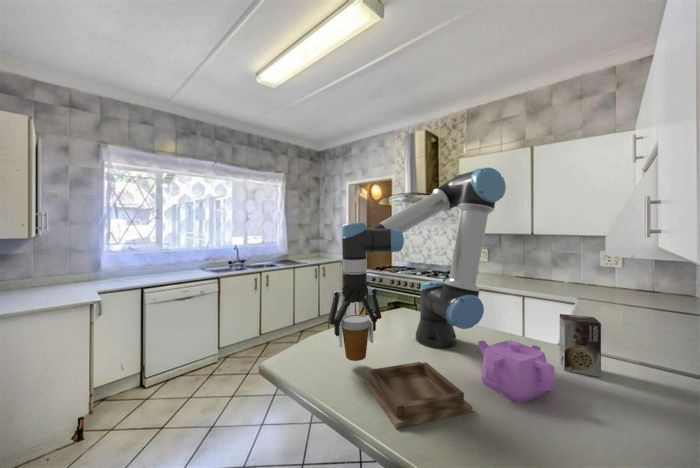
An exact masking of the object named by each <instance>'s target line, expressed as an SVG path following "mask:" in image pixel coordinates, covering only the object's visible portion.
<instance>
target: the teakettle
mask: <svg viewBox="0 0 700 468" xmlns="http://www.w3.org/2000/svg"><path fill="white" fill-rule="evenodd" d="M477 344H478V346H479V349H480V350H481V353H482V356H483V359H482V363H481V372H480V373H481V374H480V378H481V381H482V384H483V385H484V386H486V387H487V388H489V389H490V390H493V391H494V392H495V393H498V394H499V395H501V396H502V397H504V398H507V399H509V400H510V401H513V402H514V403H517V404H523V403H527V402H531V401H533V400H536V399H539V398H540V397H542V396H543V395H544V394H546V393H547V392H548V391H549V392H550V391H554V390H556V389H557V382H556V373H555V365H551V364H550V363H548V361H547V357H546V354H545V352H544V351H542V350H541V346H538V345H531V346H529V345H526V344H523V343H520V342H519V341H515V340H505V341H500V342H497V343H493V344H491V345H489V344H488V343H487V341H486V340H479V341H477Z"/></svg>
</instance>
